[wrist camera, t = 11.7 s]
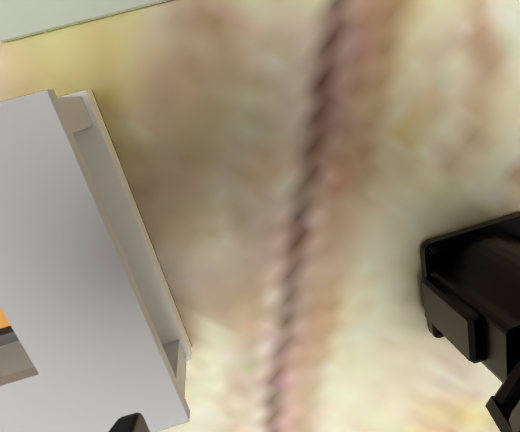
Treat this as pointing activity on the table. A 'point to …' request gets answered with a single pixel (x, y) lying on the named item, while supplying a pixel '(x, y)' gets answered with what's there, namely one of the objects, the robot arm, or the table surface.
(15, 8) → the mat
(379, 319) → the table surface
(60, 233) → the grey square-hole box
